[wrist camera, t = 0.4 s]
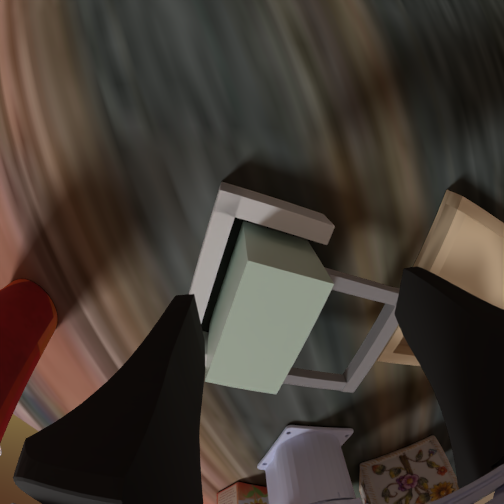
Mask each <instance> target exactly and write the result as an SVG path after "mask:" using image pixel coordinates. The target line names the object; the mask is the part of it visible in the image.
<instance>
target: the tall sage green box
mask: <svg viewBox="0 0 504 504" xmlns="http://www.w3.org/2000/svg"><path fill="white" fill-rule="evenodd" d="M331 290H335V291H339V292H343V293H347V294H351V295H354V296H358V297H362V298H366V299H370V300H374V301H378V302H382V303H385V305H384V307H383V309H382V311H381V312H380V314H379V316H378V318H377V320H376V321H375V323H374V325H373V326H372V328H371V330H370V332H369V333H368V335H367V337H366V338H365V340H364V342H363V343H362V345H361V347H360V348H359V350H358V351H357V353H356V355H355V356H354V358H353V359H352V361H351V363H350V364H349V366H348V367H347V369H346V370H345V372H344V373H343V375H341V374H333V373H326V372H319V371H312V370H305V369H299V368H293V367H292V366H293V364H294V362H295V360H296V358H297V356H298V354H299V353H300V351H301V349H302V347H303V345H304V343H305V341H306V339H307V338H308V336H309V334H310V332H311V330H312V328H313V326H314V324H315V322H316V320H317V318H318V316H319V314H320V312H321V310H322V308H323V306H324V304H325V302H326V300H327V298H328V296H329V294H330V292H331ZM399 290H400V289H399V288H396V287H391V286H387V285H384V284H380V283H377V282H373V281H370V280H367V279H363V278H360V277H356V276H353V275H349V274H346V273H342V272H339V271H335V270H332V269H328V268H325V267H324V266H323V265H322V263H321V261H320V260H319V258H318V256H317V255H316V253H315V252H314V250H313V248H312V247H311V245H310V243H309V242H308V240H304V239H301V238H298V237H295V236H291V235H288V234H285V233H282V232H278V231H275V230H272V229H268V228H265V227H262V226H258V225H255V224H252V223H248V222H245V221H243V222H242V225H241V228H240V231H239V234H238V237H237V240H236V243H235V246H234V249H233V252H232V255H231V258H230V262H229V265H228V268H227V271H226V274H225V277H224V280H223V283H222V286H221V289H220V292H219V295H218V298H217V301H216V304H215V308H214V311H213V314H212V317H211V320H210V323H209V335H208V347H207V361H206V374H205V382H210V383H215V384H220V385H225V386H230V387H235V388H241V389H246V390H252V391H258V392H264V393H271V394H277V392H278V390H279V389H280V387H281V385H282V383H285V384H292V385H299V386H306V387H314V388H323V389H332V390H341V391H342V392H354V391H355V390H356V388H357V387H358V385H359V384H360V383H361V381H362V380H363V378H364V377H365V376H366V374H367V373H368V371H369V370H370V368H371V367H372V365H373V364H374V362H375V361H376V359H377V358H378V356H379V355H380V353H381V352H382V350H383V349H384V347H385V345H386V344H387V342H388V341H389V339H390V337H391V336H392V334H393V333H394V331H395V329H396V328H397V326H398V322H397V319H396V317H395V314H394V313H395V309H396V304H397V300H398V295H399Z"/></svg>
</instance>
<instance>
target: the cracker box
mask: <svg viewBox="0 0 504 504" xmlns="http://www.w3.org/2000/svg"><path fill="white" fill-rule="evenodd" d="M217 504H269V500H268V491H267V487H263V486H257V485H252V484H247V483H242V482H237V483H235V484H233V485H231V486H230V487H228V488H226V489H224V490H222V491H220V492H219V493H217Z"/></svg>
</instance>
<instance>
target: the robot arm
mask: <svg viewBox="0 0 504 504" xmlns="http://www.w3.org/2000/svg"><path fill="white" fill-rule="evenodd" d="M394 314H395V317H396V319H397V322H398V324H399V327H400V329H401V331H402V334H403V336H404V338H405V340H406V341H407V343H408V345H409V347H410V348H411V350H412V352H413V354H414V355H415V357H416V359H417V361H418V362H419V364H420V366H421V368H422V369H423V371H424V373H425V375H426V376H427V378H428V380H429V382H430V384H431V386H432V388H433V390H434V392H435V395H436V397H437V400H438V403H439V405H440V408H441V411H442V414H443V417H444V420H445V423H446V427H447V430H448V434H449V438H450V442H451V446H452V450H453V455H454V461H455V468H456V475H457V485H458V487H459V490H457V491H455V492H453V493H451V494H448V495H446V496H444V497H442V498H440V499H438V500H436V501H433V502H431V503H429V504H474V503H475V502H477V501H479V500H480V499H482V498H484V497H485V496H487V495H489V494H490V493H492V492H494V491H495V490H496V491H495V493H494V497H493V499H491V500H490V501H488V502H487V503H485V504H504V310H503V309H501V308H499V307H497V306H494V305H492V304H490V303H488V302H486V301H484V300H482V299H480V298H478V297H476V296H474V295H472V294H471V293H469V292H467V291H465V290H463V289H461V288H459V287H458V286H456V285H454V284H452V283H450V282H449V281H447V280H445V279H443V278H441V277H439V276H438V275H436V274H434V273H432V272H430V271H428V270H425V269H423V268H421V267H418V266H416V267H410V268H404V269H403V275H402V280H401V285H400V290H399V295H398V300H397V304H396V309H395V313H394ZM204 375H205V339H204V335H203V331H202V326H201V322H200V318H199V313H198V309H197V304H196V300H195V295H194V294H188V295H177V296H175V297H174V299H173V300H172V301H171V303H170V304H169V306H168V307H167V309H166V310H165V312H164V313H163V315H162V316H161V317H160V319H159V320H158V322H157V323H156V325H155V326H154V327H153V329H152V330H151V331H150V333H149V334H148V336H147V337H146V338H145V340H144V341H143V342H142V343H141V345H140V346H139V347H138V348H137V350H136V351H135V352H134V353H133V354H132V356H131V357H130V358H129V359H128V360H127V362H126V363H125V364H124V365H123V366H122V367H121V368H120V369H119V370H118V371H117V372H116V373H115V374H114V375H113V376H112V377H111V378H110V379H109V380H108V381H107V382H106V383H105V384H104V385H103V386H102V387H100V388H99V389H98V390H97V391H96V392H95V393H94V394H92V395H91V396H90V397H89V398H88V399H87V400H85V401H84V402H83V403H82V404H80V405H79V406H78V407H76V408H75V409H74V410H72V411H71V412H69V413H68V414H66V415H65V416H64V417H62V418H61V419H59V420H58V421H56V422H54V423H53V424H51V425H49V426H48V427H46V428H44V429H42V430H41V431H39V432H37V433H36V434H34V435H32V436H30V437H28V438H26V440H25V442H24V445H23V448H22V451H21V454H20V457H19V460H18V463H17V467H16V470H15V473H14V477H13V479H14V482H15V484H16V485H17V486H18V487H19V488H20V489H21V490H23V491H24V492H25V493H26V494H28V495H29V496H31V497H32V498H34V499H35V500H37V501H39V502H41V503H42V504H203V495H202V484H201V467H200V443H199V429H200V415H201V404H202V394H203V385H204ZM353 432H354V430H353V429H352V428H330V427H313V426H299V425H288V426H287V427H286V428H285V429H284V430H283V432H282V433H281V435H280V436H279V437H278V439H277V440H276V441H275V443H274V444H273V445H272V447H271V448H270V449H269V451H268V452H267V453H266V455H265V456H264V457H263V459H262V460H261V461H260V463H259V464H258V465H257V468H258V469H261V470H265V472H266V482H267V491H268V500H269V504H362V503H361V500H360V498H356V497H355V493H354V490H353V486H352V483H351V479H350V476H349V472H348V469H347V466H346V462H345V459H344V456H343V452H342V449H341V446H342V445H343V444H344V443H345V442H346V440H347V439H348V438H349V437H350V436H351V435H352V434H353ZM11 504H15V503H11ZM365 504H368V503H365Z"/></svg>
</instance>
